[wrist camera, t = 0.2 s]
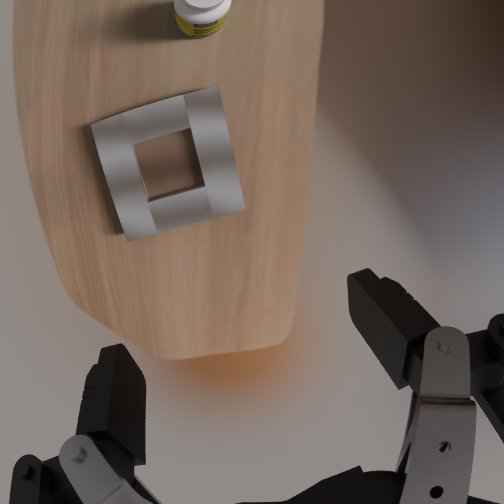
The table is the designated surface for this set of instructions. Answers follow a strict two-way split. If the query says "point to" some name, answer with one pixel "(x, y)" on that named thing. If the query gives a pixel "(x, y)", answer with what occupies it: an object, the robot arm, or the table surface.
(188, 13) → the supplement bottle
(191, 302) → the table surface
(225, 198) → the mount block
